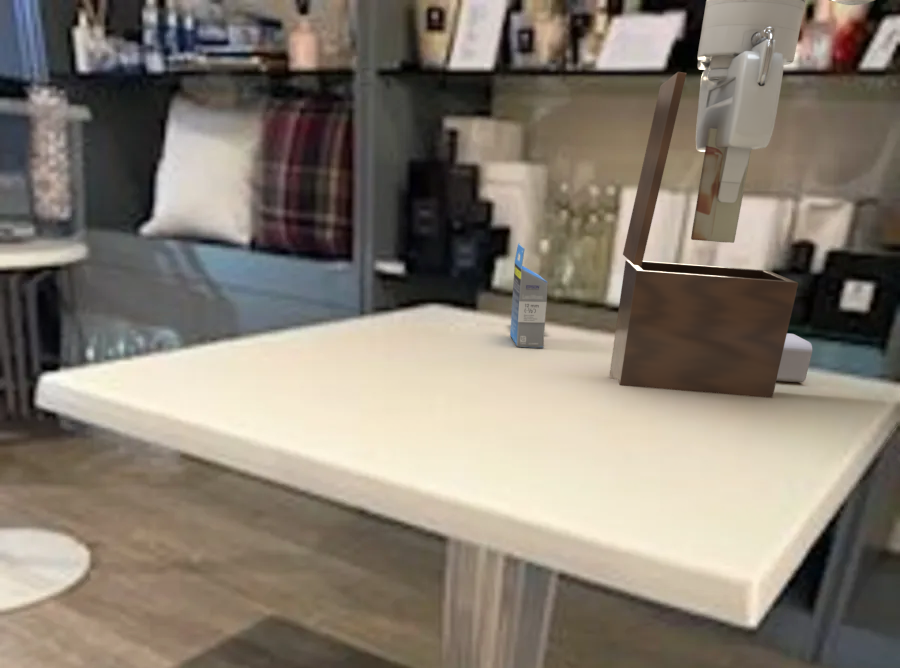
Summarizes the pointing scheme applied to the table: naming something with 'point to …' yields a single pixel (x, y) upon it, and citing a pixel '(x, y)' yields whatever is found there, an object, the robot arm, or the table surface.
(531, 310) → the label tape box
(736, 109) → the robot arm
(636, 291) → the chest
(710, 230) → the cosmetics bottle
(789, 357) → the charger
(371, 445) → the table surface
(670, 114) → the lid
